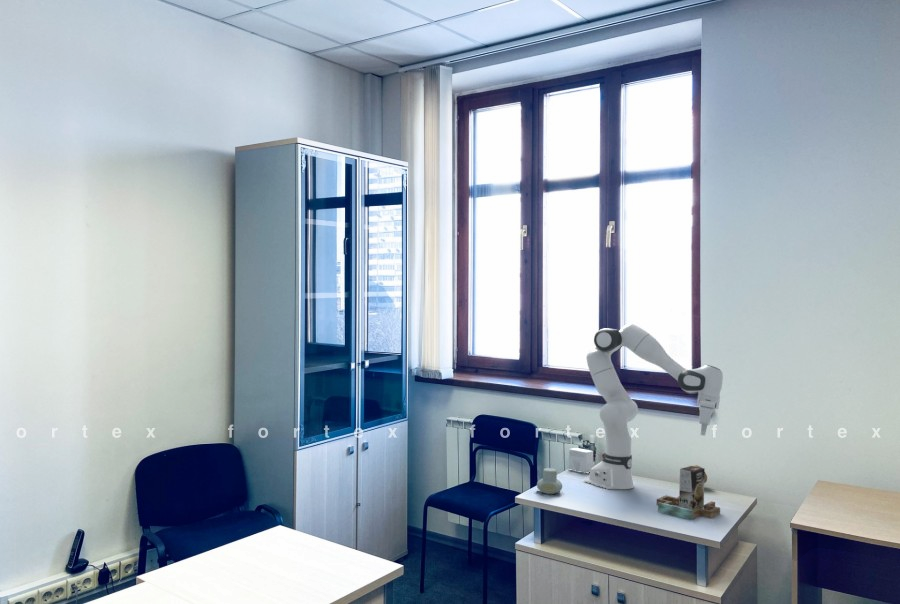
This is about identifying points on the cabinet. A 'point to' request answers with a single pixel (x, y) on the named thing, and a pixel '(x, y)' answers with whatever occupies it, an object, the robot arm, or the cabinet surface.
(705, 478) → the natural sponge
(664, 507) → the lane
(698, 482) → the coffee box
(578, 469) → the skincare box
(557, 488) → the air freshener
